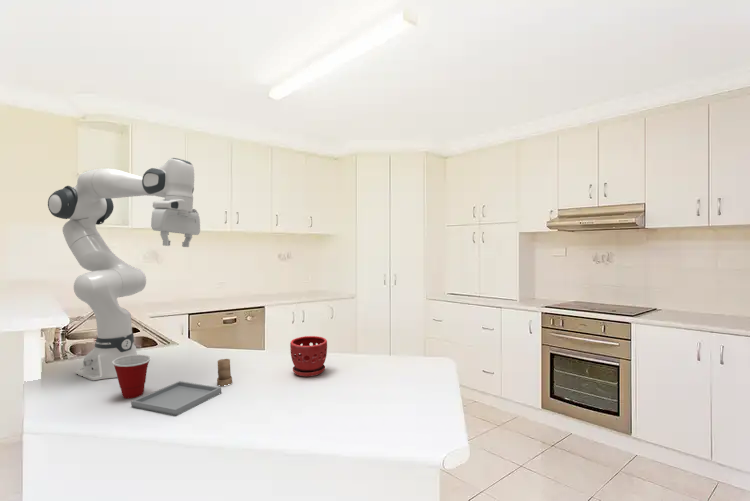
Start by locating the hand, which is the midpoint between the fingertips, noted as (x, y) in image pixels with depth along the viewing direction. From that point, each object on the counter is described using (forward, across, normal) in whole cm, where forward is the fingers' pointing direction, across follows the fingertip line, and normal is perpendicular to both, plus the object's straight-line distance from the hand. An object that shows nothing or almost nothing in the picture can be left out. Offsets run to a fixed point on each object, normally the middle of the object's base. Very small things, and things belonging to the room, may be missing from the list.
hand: (176, 246), depth 147 cm
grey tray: (+48, +9, +12) cm, 50 cm away
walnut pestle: (+46, -6, +18) cm, 50 cm away
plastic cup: (+49, +9, -6) cm, 50 cm away
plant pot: (+43, -21, +42) cm, 64 cm away
